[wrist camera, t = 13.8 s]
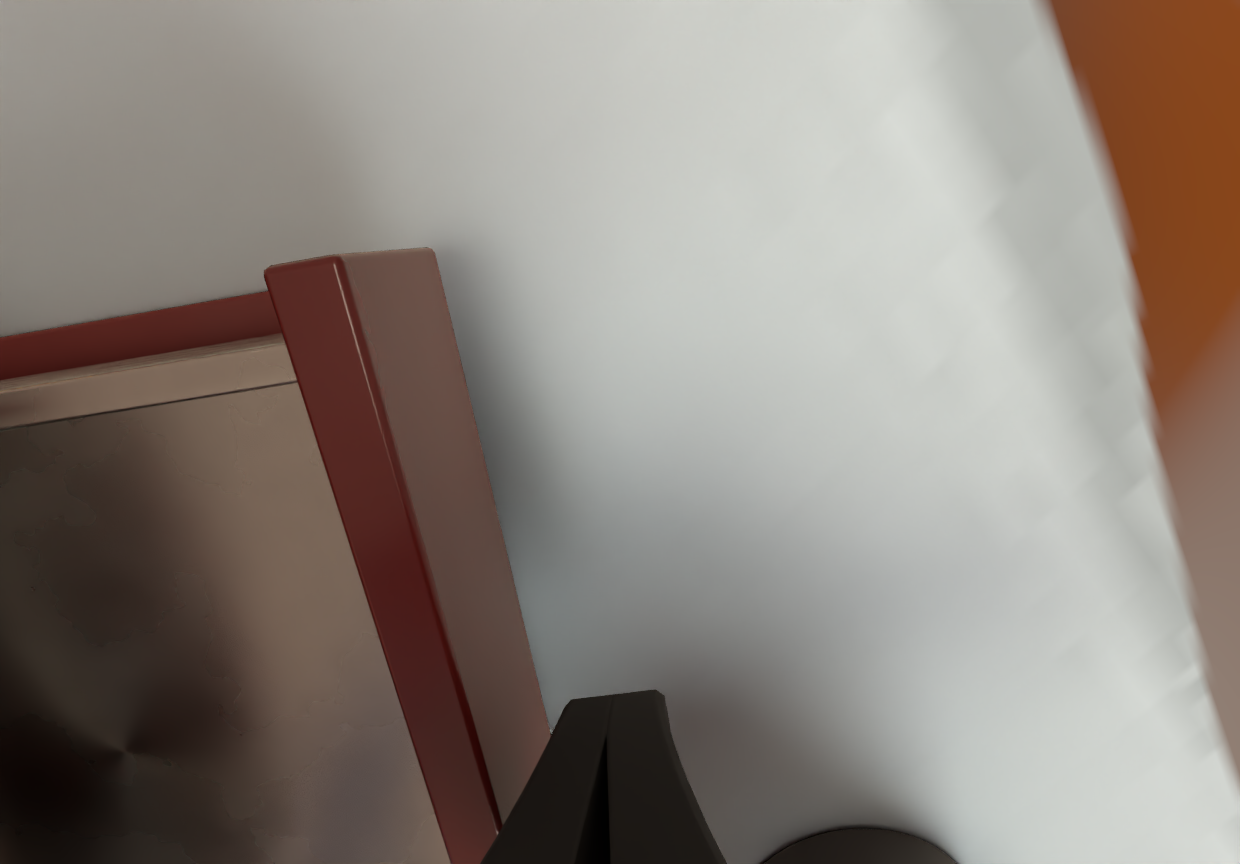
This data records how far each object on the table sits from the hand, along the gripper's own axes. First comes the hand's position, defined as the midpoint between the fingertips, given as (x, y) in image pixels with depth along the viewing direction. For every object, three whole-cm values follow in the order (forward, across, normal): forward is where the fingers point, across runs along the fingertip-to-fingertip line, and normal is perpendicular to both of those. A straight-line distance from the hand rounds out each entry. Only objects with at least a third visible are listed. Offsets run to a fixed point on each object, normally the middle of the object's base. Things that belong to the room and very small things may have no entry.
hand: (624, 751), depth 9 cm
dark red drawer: (+2, +8, 0) cm, 8 cm away
